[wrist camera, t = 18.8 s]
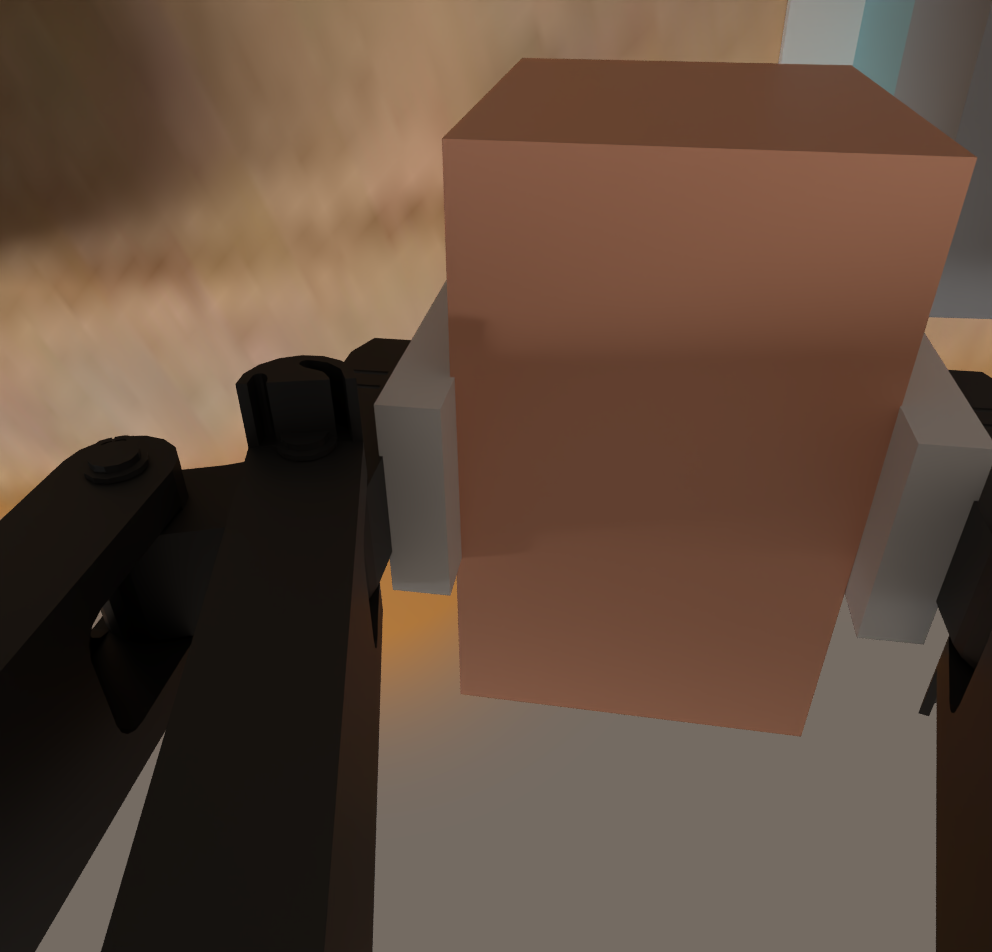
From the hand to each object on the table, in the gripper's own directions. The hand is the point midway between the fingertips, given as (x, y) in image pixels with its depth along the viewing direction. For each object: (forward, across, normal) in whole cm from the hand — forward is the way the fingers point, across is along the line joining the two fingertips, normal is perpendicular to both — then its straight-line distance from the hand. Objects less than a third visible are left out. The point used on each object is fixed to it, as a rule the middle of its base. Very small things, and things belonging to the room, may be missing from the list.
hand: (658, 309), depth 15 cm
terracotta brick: (0, 0, 0) cm, 0 cm away
